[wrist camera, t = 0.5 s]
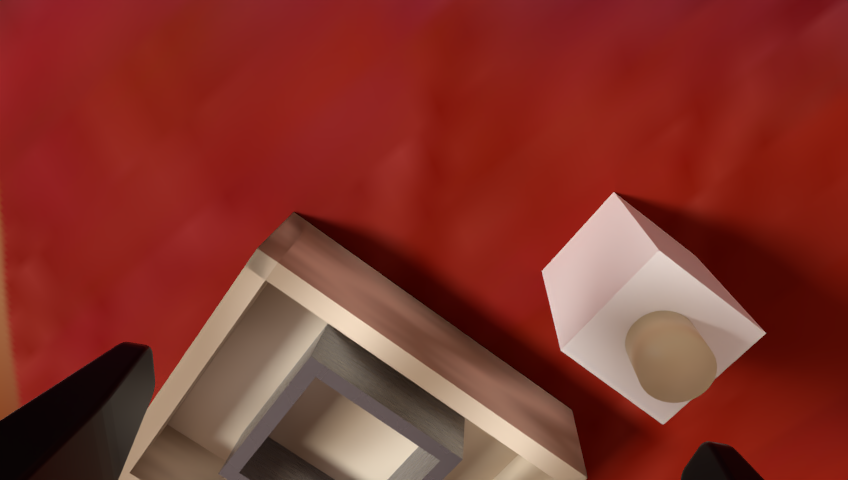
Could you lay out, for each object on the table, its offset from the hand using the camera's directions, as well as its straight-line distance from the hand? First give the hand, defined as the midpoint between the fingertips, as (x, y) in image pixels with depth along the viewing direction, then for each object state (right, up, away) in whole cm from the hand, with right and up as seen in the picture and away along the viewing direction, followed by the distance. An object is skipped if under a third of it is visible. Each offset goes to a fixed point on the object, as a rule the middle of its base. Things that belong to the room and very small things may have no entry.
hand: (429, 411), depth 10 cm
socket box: (-3, -5, +16) cm, 17 cm away
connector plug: (+7, +2, +13) cm, 15 cm away
